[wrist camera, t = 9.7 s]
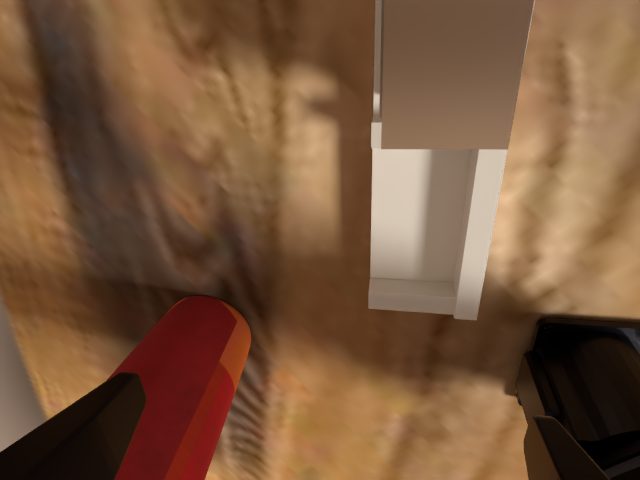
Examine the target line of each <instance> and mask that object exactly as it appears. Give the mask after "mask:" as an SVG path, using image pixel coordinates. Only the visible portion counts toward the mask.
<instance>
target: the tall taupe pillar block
mask: <svg viewBox="0 0 640 480" xmlns="http://www.w3.org/2000/svg"><path fill="white" fill-rule="evenodd" d="M533 5H534V0H382V9H381V57H380V105H379V118H382V130H381V149H498V150H508V146H509V141H510V135H511V129H512V124H513V118H514V112H515V107H516V101H517V96H518V90H519V84H520V79H521V73H522V67H523V62H524V56H525V50H526V45H527V39H528V33H529V28H530V22H531V16H532V11H533Z"/></svg>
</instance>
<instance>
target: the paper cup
mask: <svg viewBox="0 0 640 480" xmlns="http://www.w3.org/2000/svg"><path fill="white" fill-rule="evenodd" d="M250 345H251V330H250V327H249V325H248V323H247V321H246V320H245V318H244V317H243V316H242V314H241V313H240V312H239V311H238V310H236V309H235V308H234V307H233V306H231V305H230V304H228V303H226V302H224V301H222V300H220V299H217V298H214V297H210V296H204V295H195V296H189V297H186V298H184V299H182V300H180V301H178V302H177V303H176V304H175V305H174V306H173V307H172V308H171V309H170V310H169V311H168V312H167V313H166V314H165V315H164V316H163V317H162V318H161V320H160V321H159V322H158V323H157V324H156V325H155V326H154V327H153V328H152V330H151V331H150V332H149V333H148V334H147V335H146V336H145V337H144V339H143V340H142V341H141V342H140V343H139V344H138V345H137V346H136V348H135V349H134V350H133V351H132V352H131V353H130V354H129V356H128V357H127V358H126V359H125V360H124V361H123V362H122V364H121V365H120V366H119V367H118V368H117V369H116V370H115V371H114V373H113V374H112V375H111V376H110V377H109V378H108V379H107V380H109V379H110V378H112V377H113V376H115V375H116V374H118V373H120V372H131V373H137V374H138V375H139V377H140V379H141V382H142V385H143V387H144V390H145V393H146V398H147V399H146V405H145V408H144V410H143V413H142V415H141V418H140V420H139V423H138V425H137V428H136V430H135V433H134V435H133V438H132V440H131V443H130V445H129V448H128V450H127V452H126V455H125V457H124V460H123V462H122V464H121V467H120V469H119V471H118V473H117V475H116V477H115V479H114V480H205V477H206V474H207V471H208V468H209V466H210V463H211V460H212V457H213V454H214V451H215V449H216V446H217V443H218V440H219V437H220V434H221V431H222V429H223V426H224V423H225V420H226V417H227V414H228V411H229V408H230V406H231V403H232V400H233V397H234V394H235V391H236V388H237V385H238V382H239V379H240V377H241V374H242V371H243V368H244V365H245V362H246V358H247V355H248V352H249V349H250Z"/></svg>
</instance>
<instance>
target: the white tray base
mask: <svg viewBox="0 0 640 480" xmlns="http://www.w3.org/2000/svg"><path fill="white" fill-rule="evenodd" d="M534 2H535V0H534ZM533 8H534V5H533ZM381 9H382V0H375V45H374V99H373V118H372V122H371V148H373V152H372V206H371V260H370V284H369V299H368V309H380V310H394V311H408V312H423V313H437V314H451V315H454V319H464V320H477V315H478V310H479V304H480V299H481V293H482V288H483V282H484V277H485V271H486V266H487V260H488V255H489V249H490V244H491V238H492V233H493V227H494V222H495V216H496V211H497V205H498V200H499V194H500V189H501V183H502V178H503V172H504V167H505V161H506V156H507V151H508V150H498V149H381V130H382V118H379V105H380V57H381ZM532 13H533V11H532ZM531 19H532V16H531ZM530 24H531V22H530ZM529 30H530V28H529ZM528 35H529V33H528ZM527 41H528V39H527ZM526 46H527V45H526ZM525 52H526V50H525ZM524 57H525V56H524ZM523 63H524V62H523ZM522 68H523V67H522ZM521 74H522V73H521ZM519 85H520V84H519Z"/></svg>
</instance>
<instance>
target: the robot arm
mask: <svg viewBox="0 0 640 480" xmlns="http://www.w3.org/2000/svg"><path fill="white" fill-rule="evenodd" d="M547 326H551V327H549V328H546V329H545V327H547ZM516 387H517V391H518V392H517V400H518V403H519V405H521V406H522V407H523V410H524V414H525V417H526V420H527V424H528V428H527V431H526V434H525V438H524V454H525V460H526V466H527V472H528V478H529V480H640V324H636V323H622V322H607V321H593V320H578V319H564V318H549V317H547V318H542V319H540V320H539V321H538V322H537V323H536V326H535V330H534V334H533V337H532V341H531V345H530V348H529V350H527V351H526V352H525V353H524V354H523V358H522V362H521V365H520V369H519V373H518V377H517V380H516ZM146 399H147V398H146V393H145V390H144V387H143V385H142V382H141V379H140V377H139V375H138V374H137V373H131V372H120V373H118V374H116V375H115V376H113V377H112V378H110V379H109V380H107V381H106V382H104V383H103V384H101V385H100V386H98V387H97V388H95V389H94V390H92V391H91V392H89V393H88V394H86V395H85V396H83V397H82V398H80V399H79V400H77V401H76V402H74V403H73V404H72V405H70V406H69V407H67V408H66V409H64V410H63V411H61V412H60V413H58V414H57V415H55V416H54V417H52V418H51V419H49V420H48V421H46V422H45V423H43V424H42V425H40V426H39V427H37V428H36V429H34V430H33V431H31V432H30V433H28V434H27V435H25V436H24V437H22V438H21V439H20V440H18V441H16V442H15V443H13V444H12V445H10V446H9V447H7V448H6V449H4V450H3V451H1V452H0V480H114V479H115V477H116V475H117V473H118V471H119V469H120V467H121V464H122V462H123V460H124V457H125V455H126V452H127V450H128V448H129V445H130V443H131V440H132V438H133V435H134V433H135V430H136V428H137V425H138V423H139V420H140V418H141V415H142V413H143V410H144V408H145V405H146Z"/></svg>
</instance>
